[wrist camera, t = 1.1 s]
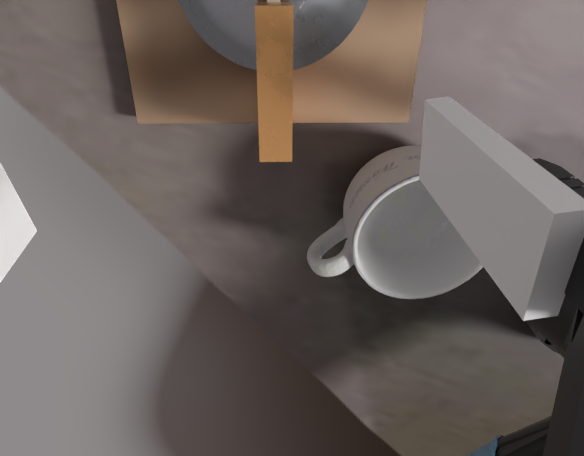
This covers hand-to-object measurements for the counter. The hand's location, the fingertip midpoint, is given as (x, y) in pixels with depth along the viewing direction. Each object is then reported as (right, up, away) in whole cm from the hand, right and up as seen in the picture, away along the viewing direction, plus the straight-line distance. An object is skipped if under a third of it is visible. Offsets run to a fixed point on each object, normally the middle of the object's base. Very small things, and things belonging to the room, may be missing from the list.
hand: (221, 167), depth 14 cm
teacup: (+10, +1, +23) cm, 25 cm away
